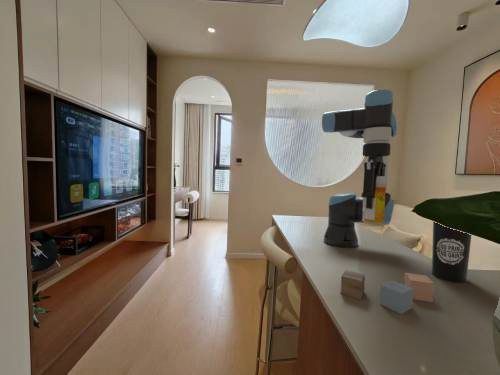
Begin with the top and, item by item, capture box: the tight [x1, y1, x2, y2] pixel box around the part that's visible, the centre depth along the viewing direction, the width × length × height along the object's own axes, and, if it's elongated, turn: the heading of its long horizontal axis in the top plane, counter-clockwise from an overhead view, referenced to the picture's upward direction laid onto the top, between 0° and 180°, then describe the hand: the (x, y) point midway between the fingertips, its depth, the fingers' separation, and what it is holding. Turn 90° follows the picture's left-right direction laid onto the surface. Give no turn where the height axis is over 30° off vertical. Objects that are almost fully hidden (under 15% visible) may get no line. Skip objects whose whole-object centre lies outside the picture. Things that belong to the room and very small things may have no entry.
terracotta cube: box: [403, 272, 435, 303], centre depth 63 cm, size 5×5×5 cm
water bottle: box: [431, 221, 472, 284], centre depth 75 cm, size 10×10×23 cm
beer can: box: [362, 176, 386, 226], centre depth 74 cm, size 6×6×15 cm
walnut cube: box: [340, 269, 366, 300], centre depth 64 cm, size 5×5×5 cm
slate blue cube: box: [379, 279, 414, 315], centre depth 58 cm, size 5×5×5 cm
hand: (373, 217), depth 74 cm, fingers closed on beer can, 6 cm apart
